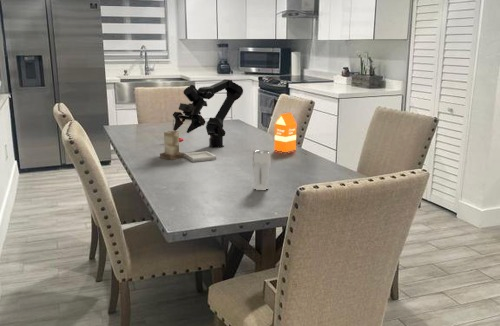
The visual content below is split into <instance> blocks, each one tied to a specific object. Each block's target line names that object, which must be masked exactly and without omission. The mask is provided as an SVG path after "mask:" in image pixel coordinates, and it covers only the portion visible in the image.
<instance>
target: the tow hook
mask: <svg viewBox="0 0 500 326" xmlns="http://www.w3.org/2000/svg"><path fill="white" fill-rule="evenodd" d="M174 126H175V119H172V130H173V131H174ZM183 141H184V138H182V137H181V138H180V137H179V143H180V142H183Z"/></svg>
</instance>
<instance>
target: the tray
mask: <svg viewBox="0 0 500 326" xmlns="http://www.w3.org/2000/svg"><path fill="white" fill-rule="evenodd" d="M184 158H186V159H188V160H189V161H191V162H192V163H197V162H207V161H216V160H217V155H215V154H213V153H211V152H209V151H207V150H205V151H196V152H184Z"/></svg>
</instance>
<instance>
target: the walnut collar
mask: <svg viewBox="0 0 500 326" xmlns="http://www.w3.org/2000/svg"><path fill="white" fill-rule="evenodd" d="M159 158H160V159H161V158H162V159H166V160H168V161H169V160H170V161H174V160H178V159H181V158H185V152H181V151H179V154H175V155H167V154H165V151H164V152H161V153H159Z"/></svg>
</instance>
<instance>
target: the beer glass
mask: <svg viewBox="0 0 500 326" xmlns="http://www.w3.org/2000/svg"><path fill="white" fill-rule="evenodd" d="M252 152H253V153H252V171H253V177H254V178H253V179H254V182H253V187H252V188H254V189H256V190H255V191H257V190H266V189H268V188H269V189H270V187H269V175H270V169H271V151H270V150H267V149H257V150H253V151H252ZM254 189H253V190H254ZM269 189H268V190H269ZM266 191H267V190H266Z"/></svg>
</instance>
